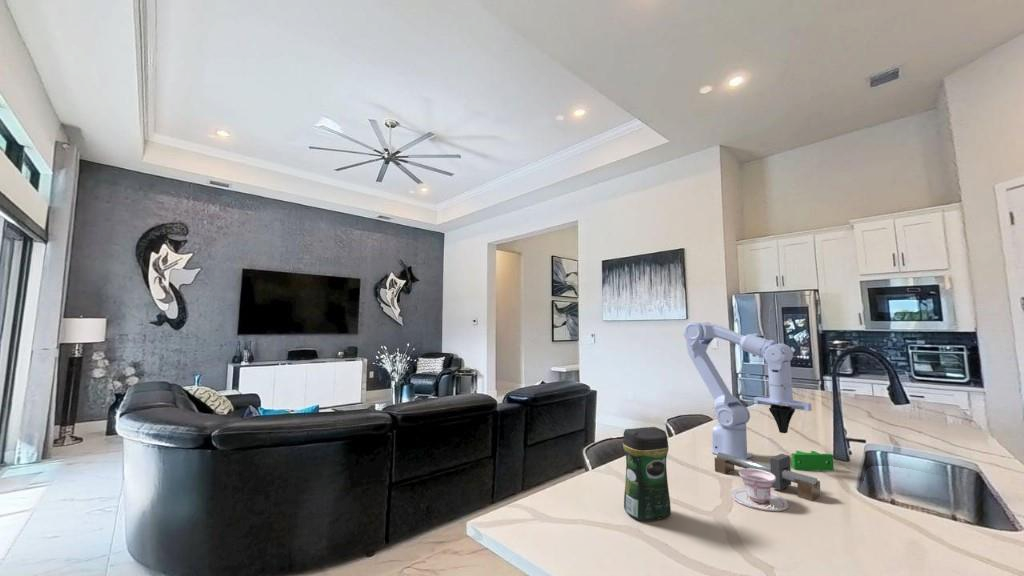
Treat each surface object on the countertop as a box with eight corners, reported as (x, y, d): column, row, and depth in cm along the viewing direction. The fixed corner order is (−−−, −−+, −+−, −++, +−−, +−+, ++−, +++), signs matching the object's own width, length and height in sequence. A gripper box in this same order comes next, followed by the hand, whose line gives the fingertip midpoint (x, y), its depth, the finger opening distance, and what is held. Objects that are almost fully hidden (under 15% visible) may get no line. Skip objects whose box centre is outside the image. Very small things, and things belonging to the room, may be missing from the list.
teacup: (734, 487, 109) (733, 462, 109) (789, 498, 102) (788, 472, 102) (727, 503, 99) (726, 476, 99) (788, 517, 92) (786, 488, 93)
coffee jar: (654, 503, 98) (652, 422, 100) (676, 518, 91) (675, 431, 92) (617, 508, 95) (616, 425, 97) (637, 525, 88) (636, 434, 89)
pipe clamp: (824, 466, 125) (823, 451, 125) (833, 471, 121) (833, 455, 122) (786, 465, 125) (786, 450, 125) (794, 470, 121) (794, 454, 122)
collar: (771, 487, 107) (770, 458, 108) (782, 482, 111) (781, 453, 111) (779, 490, 105) (778, 460, 106) (791, 484, 109) (789, 455, 110)
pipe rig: (714, 470, 120) (714, 453, 120) (724, 467, 123) (723, 450, 123) (812, 501, 100) (811, 479, 101) (820, 496, 103) (819, 475, 103)
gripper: (748, 383, 127) (750, 429, 126) (802, 389, 116) (806, 439, 114) (759, 381, 131) (762, 426, 130) (813, 386, 120) (816, 436, 118)
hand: (783, 432), depth 123 cm, fingers closed
